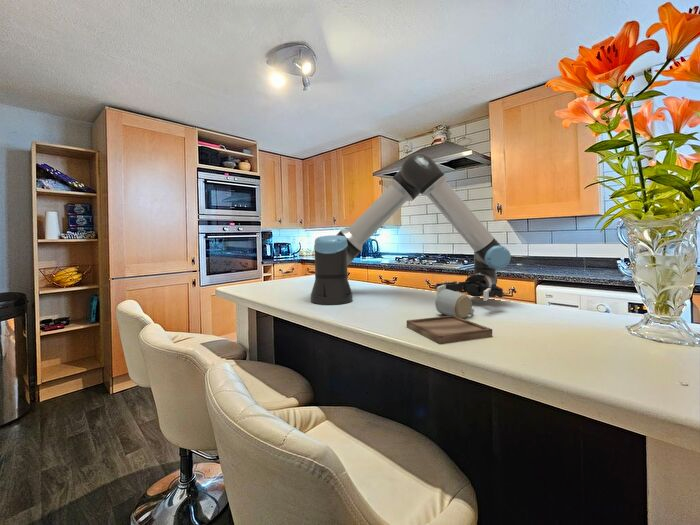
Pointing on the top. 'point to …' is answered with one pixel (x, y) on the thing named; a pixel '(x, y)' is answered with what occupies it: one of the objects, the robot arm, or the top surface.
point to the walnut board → (448, 329)
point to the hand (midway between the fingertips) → (460, 293)
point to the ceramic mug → (454, 304)
